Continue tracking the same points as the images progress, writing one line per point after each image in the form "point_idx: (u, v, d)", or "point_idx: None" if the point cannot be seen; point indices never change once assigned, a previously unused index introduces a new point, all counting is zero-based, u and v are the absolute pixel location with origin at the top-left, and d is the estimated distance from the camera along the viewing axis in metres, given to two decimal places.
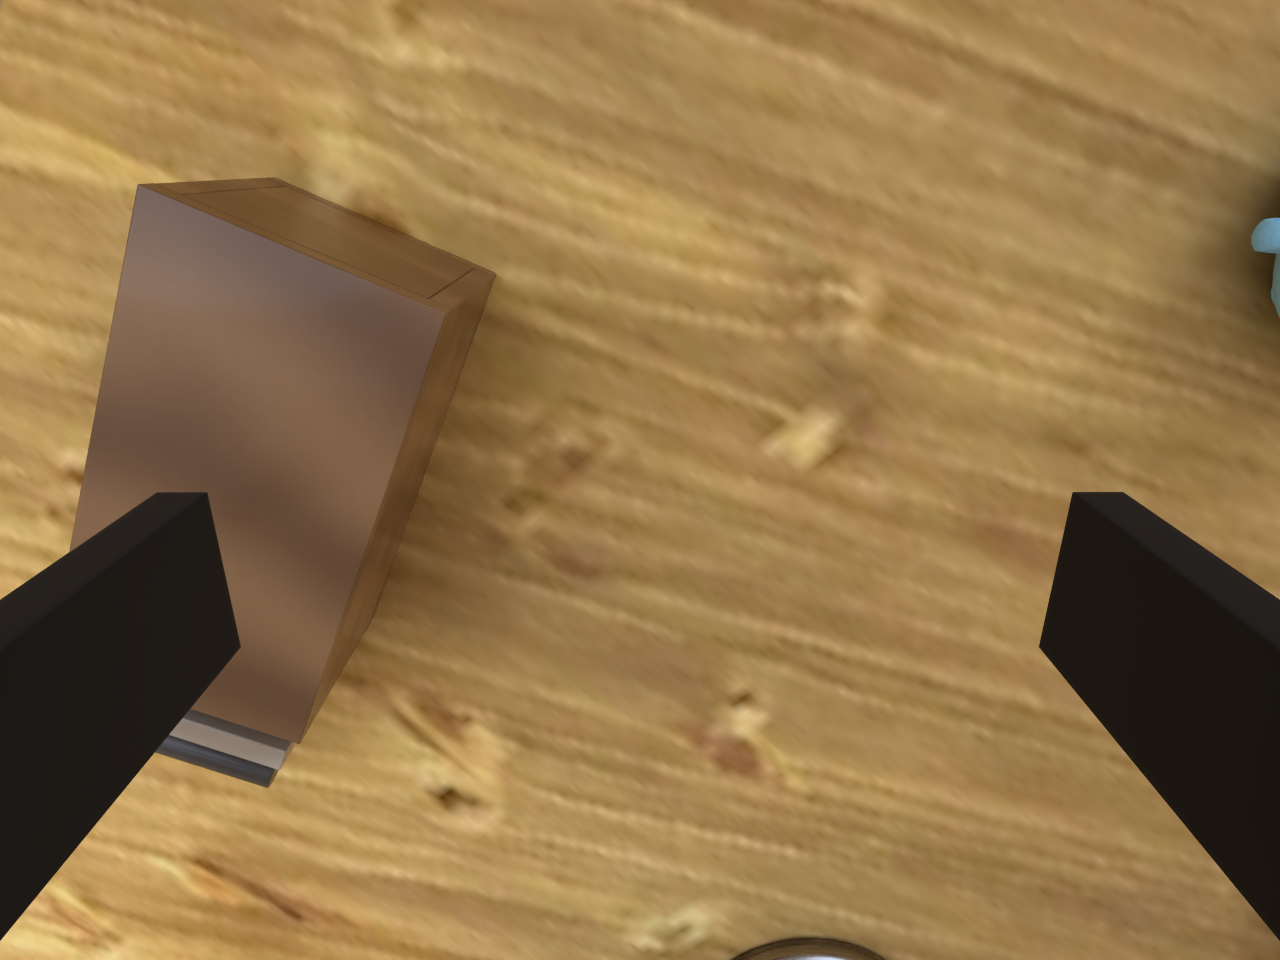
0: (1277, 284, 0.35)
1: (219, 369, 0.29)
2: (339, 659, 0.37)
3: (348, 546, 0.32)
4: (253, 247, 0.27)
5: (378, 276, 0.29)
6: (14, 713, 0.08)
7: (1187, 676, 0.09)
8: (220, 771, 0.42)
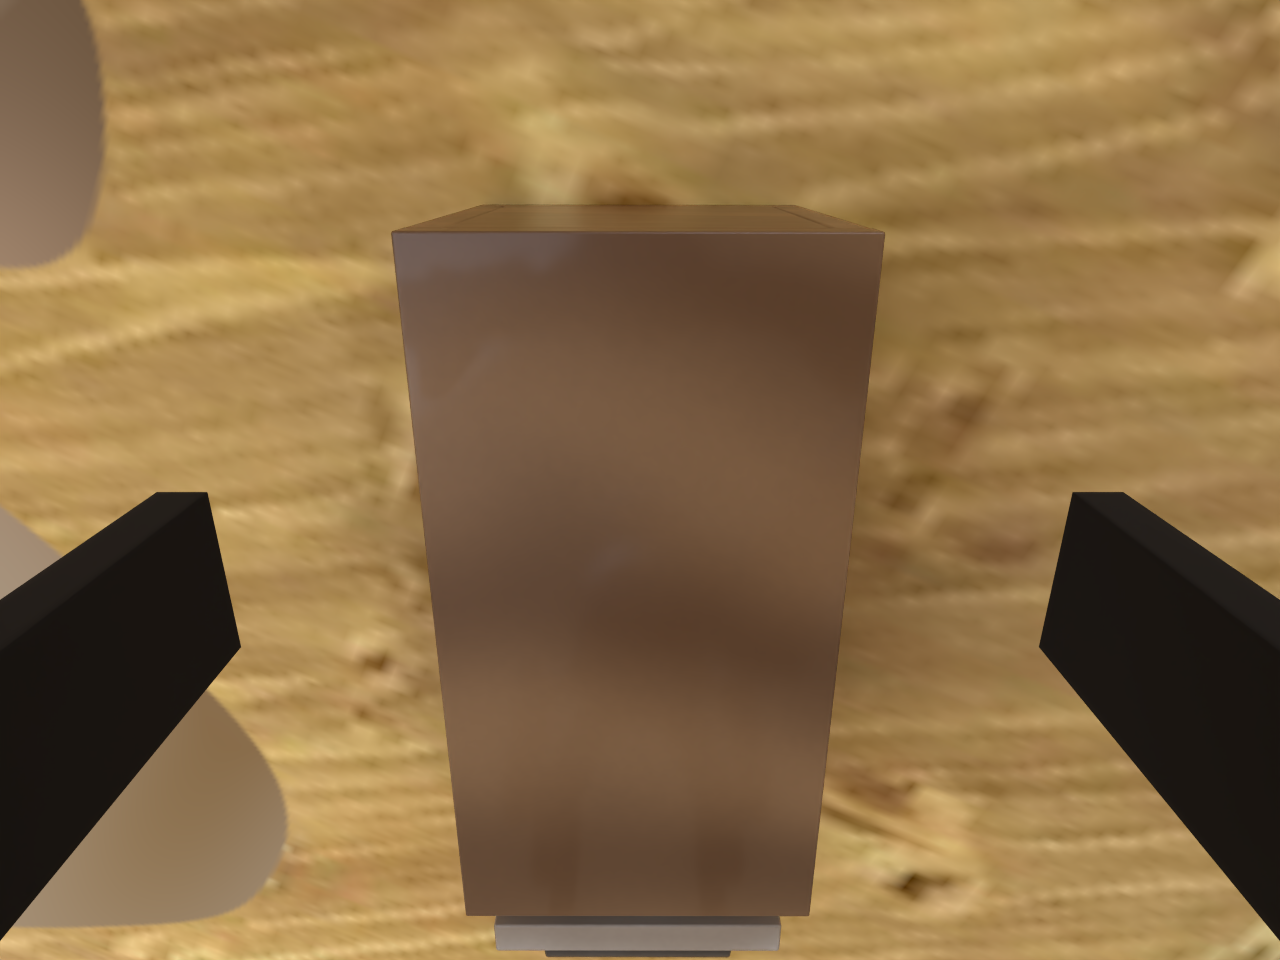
0: None
1: (575, 455, 0.19)
2: None
3: (815, 635, 0.21)
4: (575, 254, 0.18)
5: (749, 227, 0.18)
6: (14, 713, 0.08)
7: (1187, 676, 0.09)
8: (668, 956, 0.33)
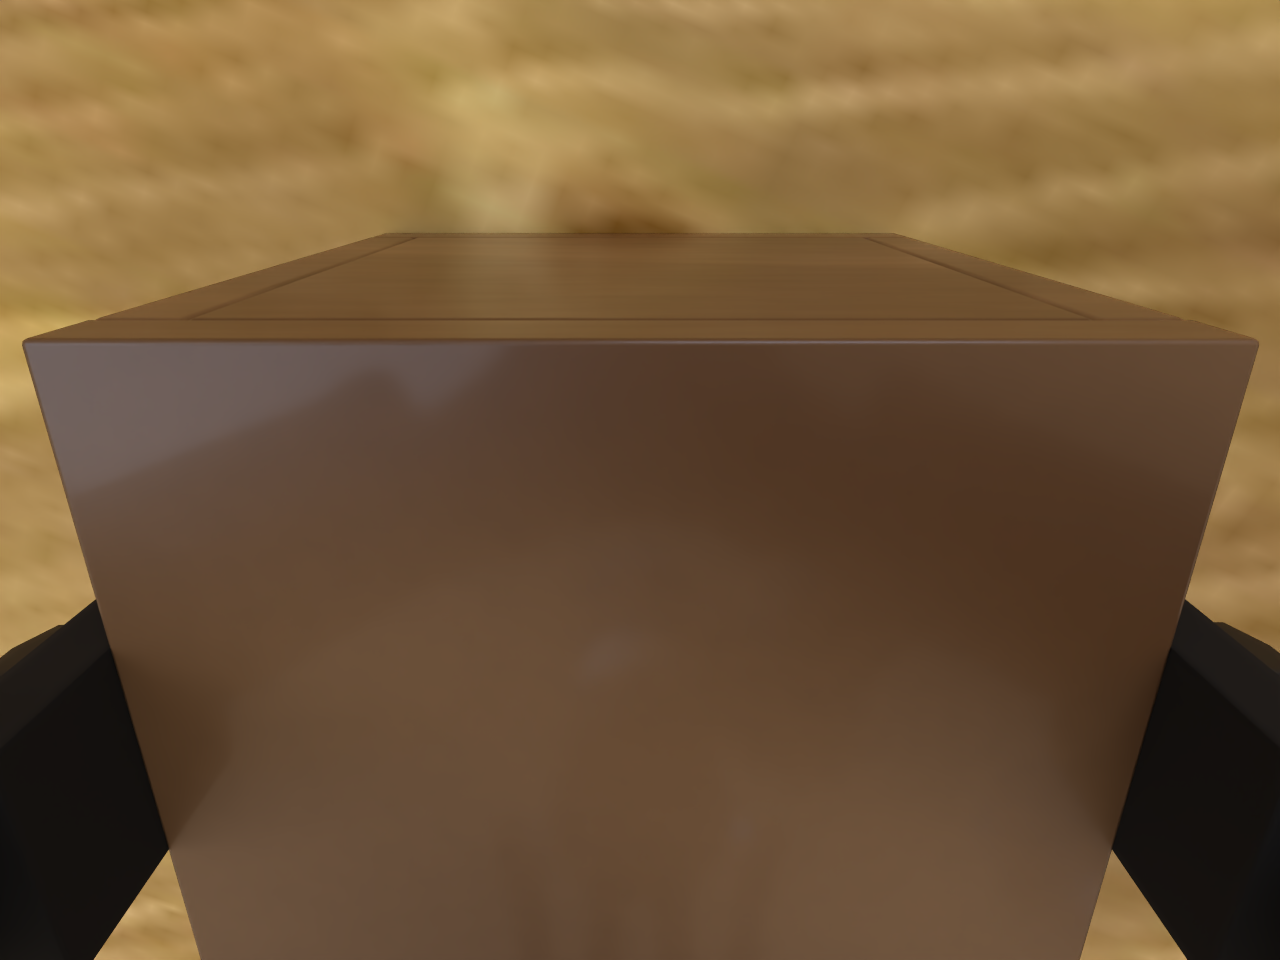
0: None
1: (504, 805, 0.09)
2: None
3: None
4: (486, 394, 0.07)
5: (898, 316, 0.08)
6: None
7: None
8: None
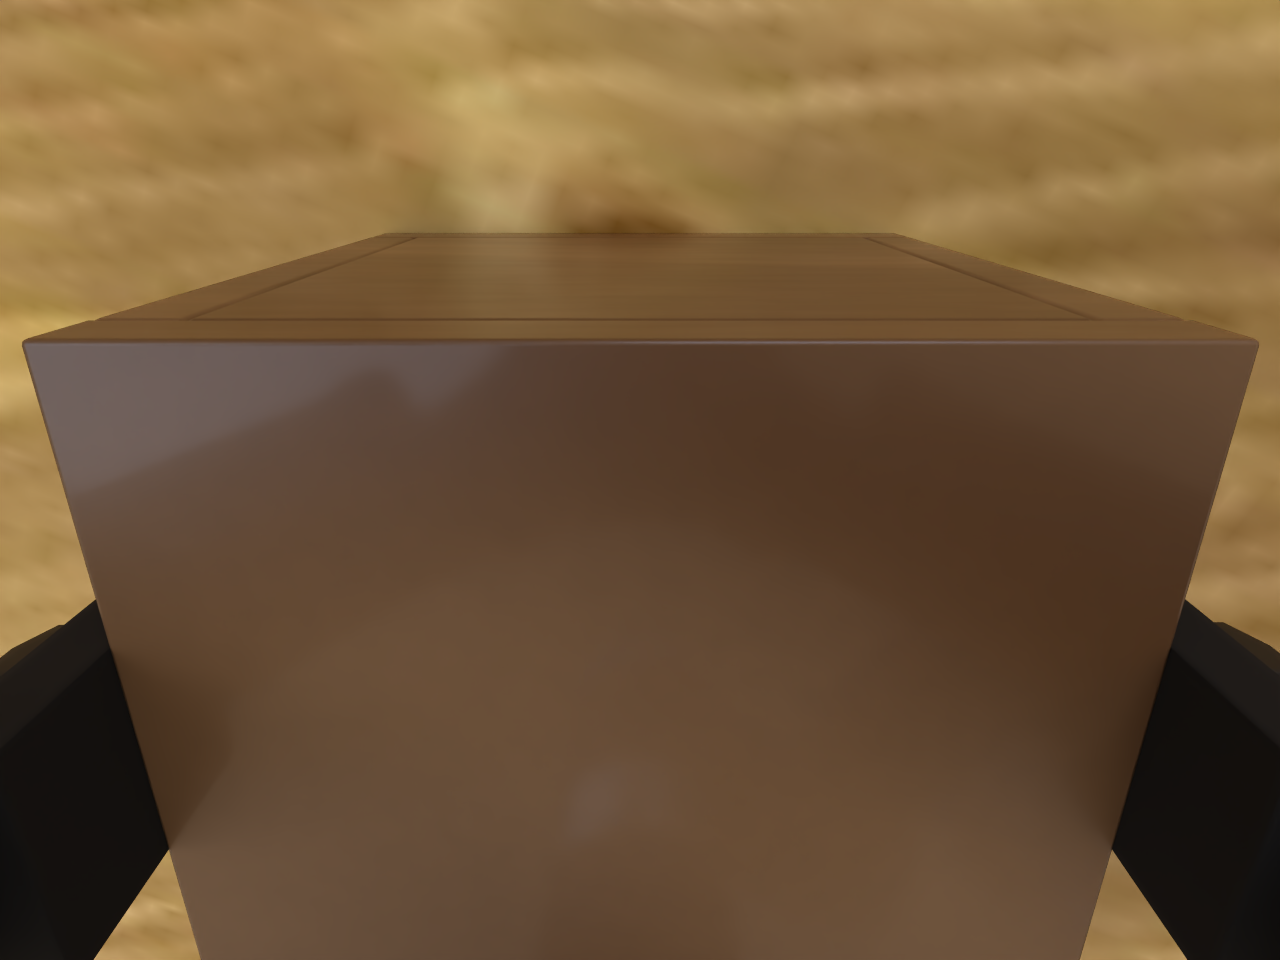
0: None
1: (504, 805, 0.09)
2: None
3: None
4: (486, 394, 0.07)
5: (898, 316, 0.08)
6: None
7: None
8: None
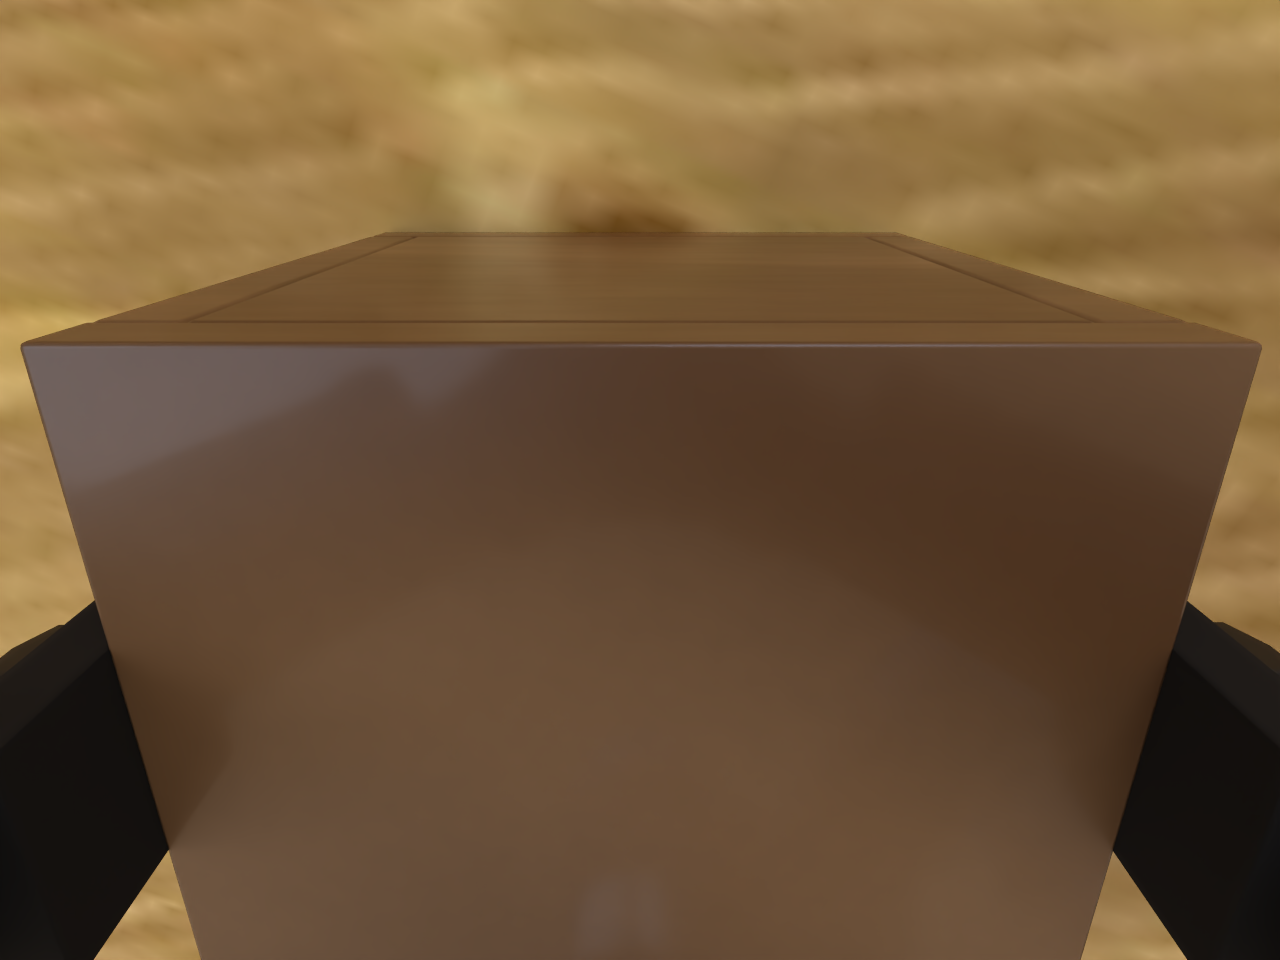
0: None
1: (504, 808, 0.09)
2: None
3: None
4: (486, 397, 0.07)
5: (900, 319, 0.08)
6: None
7: None
8: None
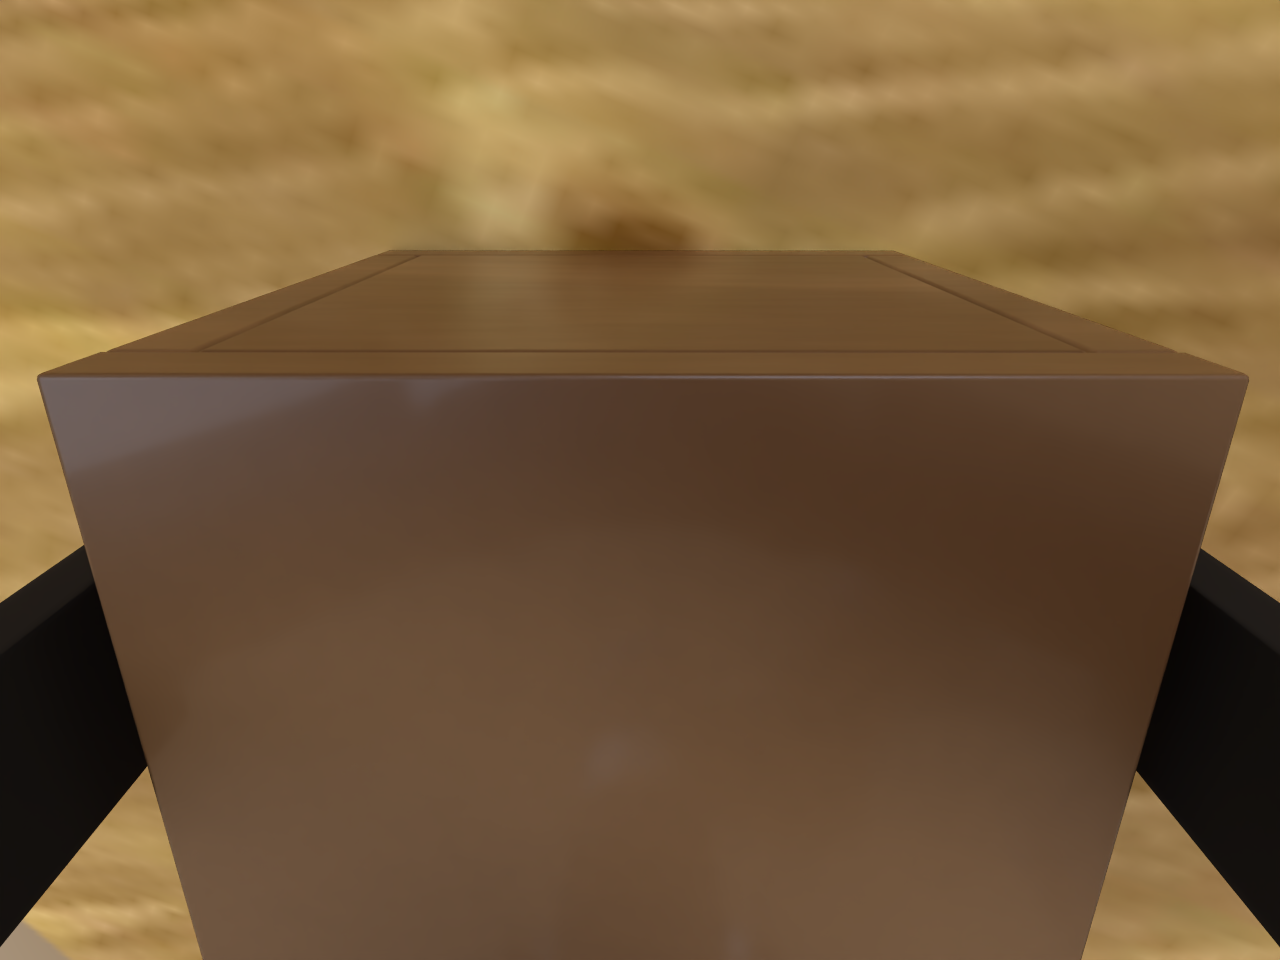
0: None
1: (507, 826, 0.09)
2: None
3: None
4: (491, 427, 0.07)
5: (896, 348, 0.08)
6: (22, 711, 0.08)
7: (1180, 674, 0.09)
8: None
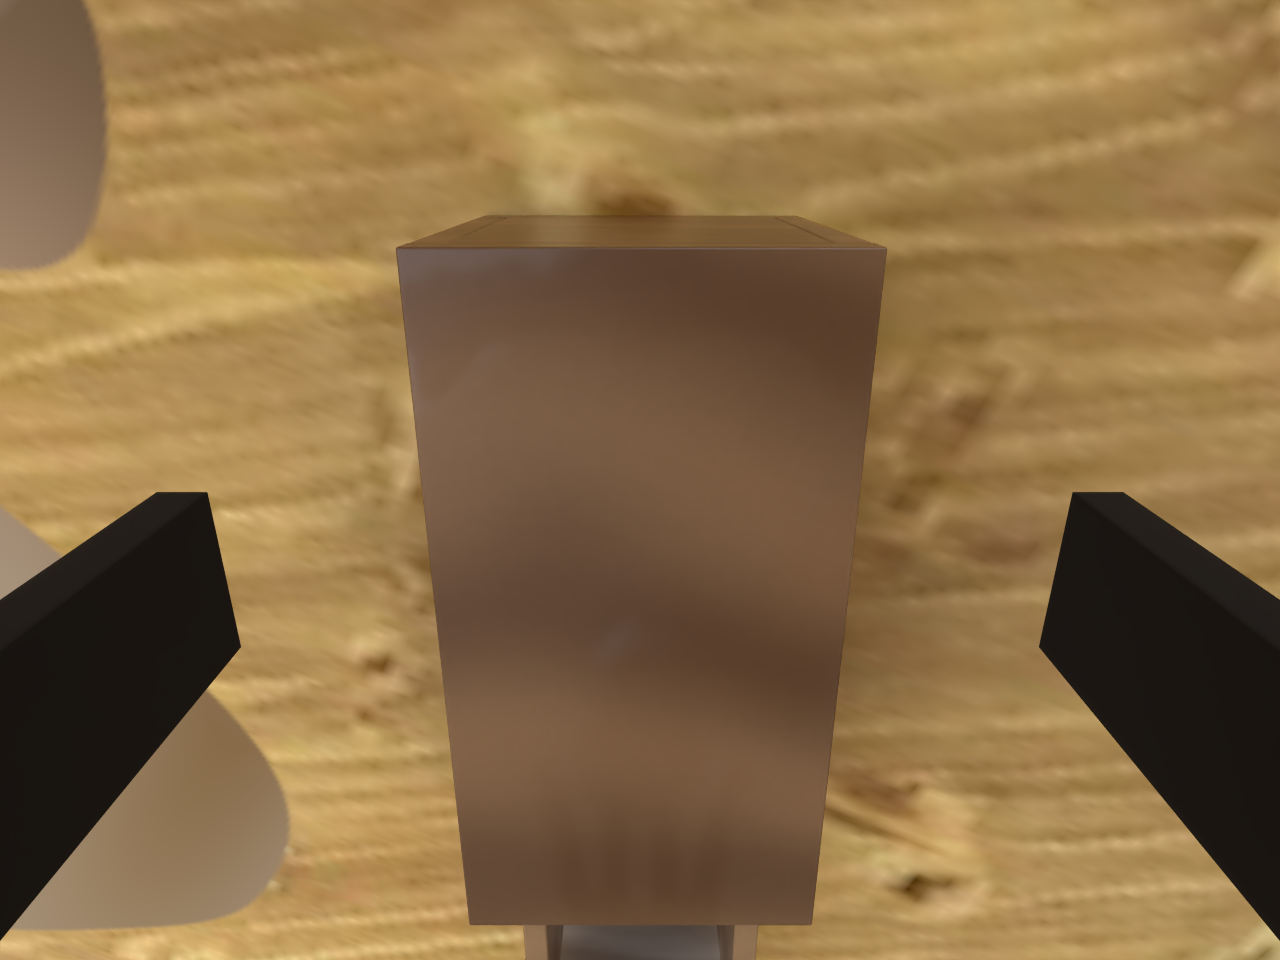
0: None
1: (579, 468, 0.19)
2: None
3: (817, 646, 0.21)
4: (579, 270, 0.18)
5: (752, 242, 0.18)
6: (14, 713, 0.08)
7: (1187, 676, 0.09)
8: None
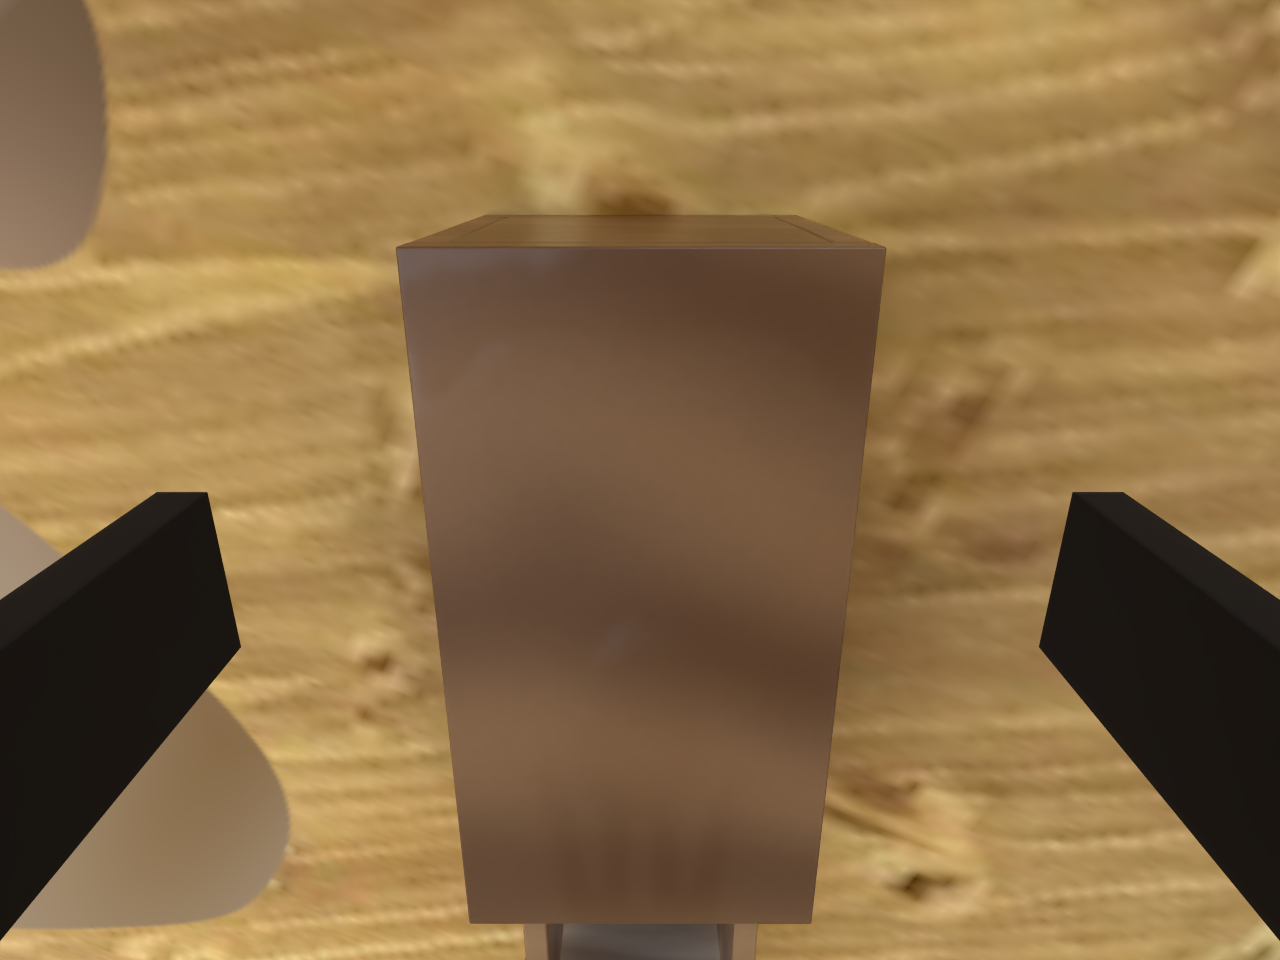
0: None
1: (578, 468, 0.19)
2: None
3: (817, 645, 0.21)
4: (579, 269, 0.18)
5: (751, 242, 0.18)
6: (14, 713, 0.08)
7: (1187, 676, 0.09)
8: None
